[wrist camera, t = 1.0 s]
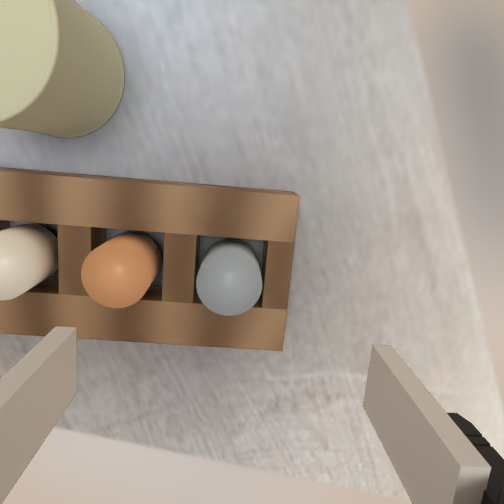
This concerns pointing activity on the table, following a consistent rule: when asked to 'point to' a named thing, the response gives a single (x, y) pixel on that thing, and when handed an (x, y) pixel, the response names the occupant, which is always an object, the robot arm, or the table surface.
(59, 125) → the can
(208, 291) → the blue-grey egg
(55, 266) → the white egg
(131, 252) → the orange egg
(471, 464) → the robot arm
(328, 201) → the table surface
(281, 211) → the wooden egg holder
